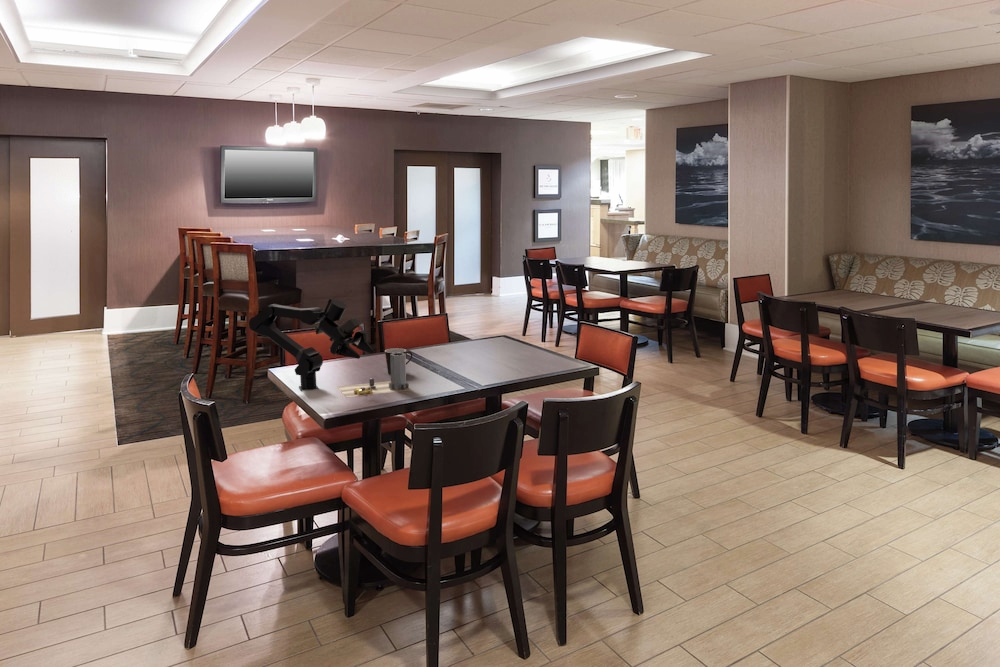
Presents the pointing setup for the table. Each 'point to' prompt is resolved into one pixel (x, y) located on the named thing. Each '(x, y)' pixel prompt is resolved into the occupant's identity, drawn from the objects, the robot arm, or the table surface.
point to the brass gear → (363, 391)
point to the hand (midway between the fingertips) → (366, 354)
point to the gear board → (380, 388)
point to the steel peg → (371, 383)
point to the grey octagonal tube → (398, 372)
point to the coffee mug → (395, 350)
